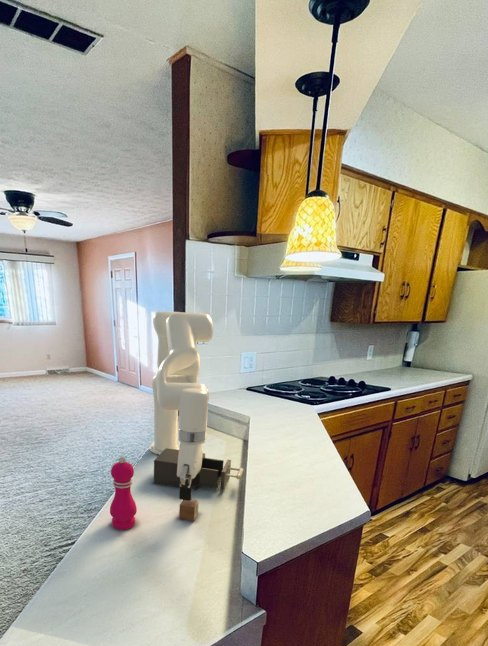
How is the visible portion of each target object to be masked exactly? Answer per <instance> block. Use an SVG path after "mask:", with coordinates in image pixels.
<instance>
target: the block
mask: <svg viewBox="0 0 488 646" xmlns="http://www.w3.org/2000/svg"><path fill="white" fill-rule="evenodd" d="M199 502H200V500H199V499H198V500H197V499H192V498H191V500H190V501H188V500H182V501H181V502H180V504H179V511H178V515H179V516H178V519H179V520H183V521H184V520H186V521H190V522H195V520H196V518H197V516H198V515H199V504H200V503H199Z"/></svg>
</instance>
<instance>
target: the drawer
mask: <svg viewBox="0 0 488 646" xmlns="http://www.w3.org/2000/svg"><path fill="white" fill-rule="evenodd" d="M224 462H225V461H224V460H223V459H217V458H209V457H205V458H203V459H202V466H201V469H200V470H201V471H200V473H199V474H200V486H199V487H205V488H206V487H207V488H214V489H217V488H218V487H219V491H220V492H224V491H225V489H226V487H227V484H228V483H229V480H230V478H236V480H240V479H241V477H242V475H243V472H244V467H240V468H237V467H231V465H232V460H231V459H227V461H226V462H225V464H224ZM231 471H236V472H237V471H238V472H237V474H231ZM219 484H220V486H219Z"/></svg>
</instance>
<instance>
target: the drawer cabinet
mask: <svg viewBox="0 0 488 646" xmlns="http://www.w3.org/2000/svg"><path fill="white" fill-rule="evenodd" d="M178 454H179V450H176V449H169V448H166V449H165V450H164V451H163V452H162V453H161V454H160V455H157V456H156V457H155V458H154V459H153V484H154V485H160V486H166V487H173V488H179V489H180V477H178V476H177V466H178ZM203 458H206V453H204V452H203V454H202V459H203ZM187 476H189V475H187ZM186 481H187V482H189V479H186ZM190 487H192V490H191V491H196V489H197V488H198V486H190Z"/></svg>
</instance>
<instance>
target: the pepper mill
mask: <svg viewBox="0 0 488 646" xmlns="http://www.w3.org/2000/svg"><path fill="white" fill-rule="evenodd" d="M110 475H111V477H112V482H113V483H112V485H113V487H114V497H113V499H112V502H111V503H110V507H109V514H110V516H111V517H112V518H111V526H112V527H113V528H114V529H116V530H121V531H123V530H129V529H131V528H134V527H135V525H136V517H135V516H136V514H137V511H138V510H137V509H138V508H137V504H136V502H135V500H134V497H133V495H132V491H131V488H132V485H133V477H134V475H135V468H134V466H133V464H131V463H130V462H128V461H127V460H126V457H124V456H120V457H119V458H118V461H117V462H115V463H114V464H112V466H111V469H110Z"/></svg>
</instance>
